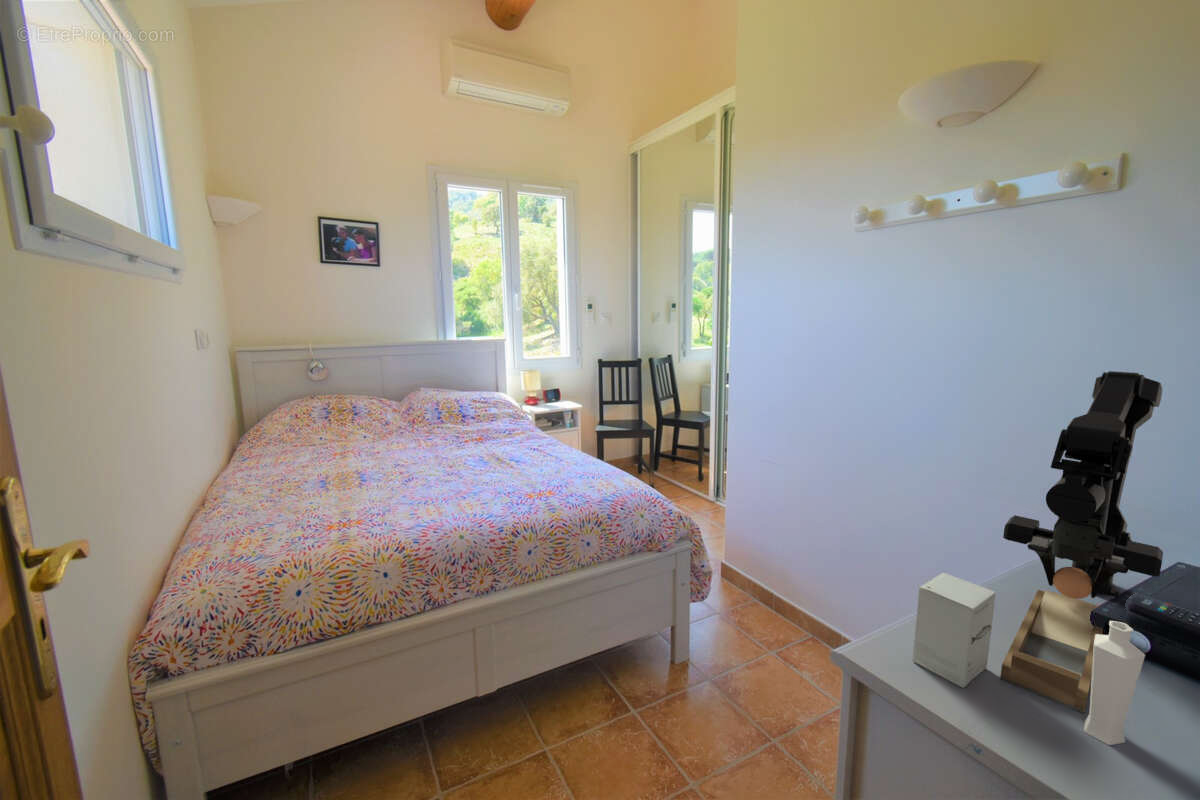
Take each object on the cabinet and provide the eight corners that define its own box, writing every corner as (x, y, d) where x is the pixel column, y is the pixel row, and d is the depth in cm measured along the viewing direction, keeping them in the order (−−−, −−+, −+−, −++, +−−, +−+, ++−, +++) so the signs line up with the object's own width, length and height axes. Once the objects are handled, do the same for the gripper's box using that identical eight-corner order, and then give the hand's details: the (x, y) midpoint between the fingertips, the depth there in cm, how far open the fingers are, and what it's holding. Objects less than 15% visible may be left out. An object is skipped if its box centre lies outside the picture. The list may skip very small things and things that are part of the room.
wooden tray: (1036, 603, 94) (1039, 579, 93) (1105, 624, 87) (1109, 599, 86) (1000, 680, 76) (1003, 652, 75) (1083, 715, 70) (1088, 684, 69)
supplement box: (964, 690, 74) (973, 609, 72) (910, 661, 80) (916, 585, 78) (988, 669, 78) (997, 591, 76) (935, 642, 84) (942, 570, 82)
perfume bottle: (1085, 740, 65) (1102, 632, 63) (1073, 715, 69) (1089, 612, 66) (1135, 754, 63) (1155, 642, 60) (1120, 727, 67) (1139, 621, 64)
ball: (1056, 600, 87) (1060, 573, 86) (1047, 585, 91) (1050, 559, 90) (1096, 607, 84) (1100, 579, 83) (1085, 591, 89) (1089, 564, 88)
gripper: (1000, 501, 86) (990, 589, 89) (1167, 536, 72) (1149, 638, 75) (1015, 483, 93) (1006, 564, 96) (1170, 512, 80) (1153, 605, 83)
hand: (1071, 590), depth 88 cm, fingers closed on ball, 5 cm apart
